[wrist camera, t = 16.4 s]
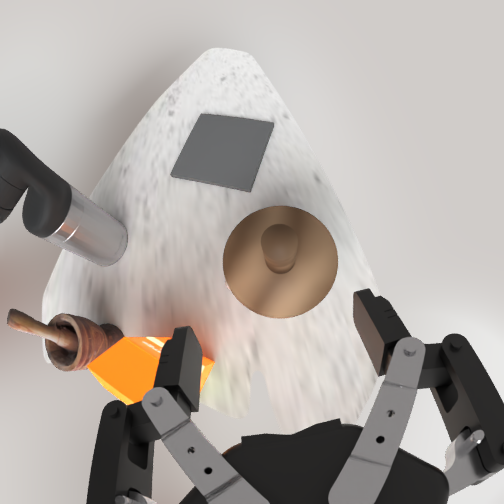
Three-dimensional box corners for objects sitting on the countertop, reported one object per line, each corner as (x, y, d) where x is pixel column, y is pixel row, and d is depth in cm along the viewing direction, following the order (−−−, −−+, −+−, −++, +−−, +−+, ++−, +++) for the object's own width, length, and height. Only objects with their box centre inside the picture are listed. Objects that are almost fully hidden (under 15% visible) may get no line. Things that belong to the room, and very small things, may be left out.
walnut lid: (210, 299, 35) (189, 290, 27) (243, 199, 38) (233, 167, 30) (320, 331, 32) (331, 331, 25) (345, 224, 36) (360, 196, 28)
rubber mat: (172, 176, 52) (170, 174, 51) (202, 116, 56) (201, 113, 55) (250, 192, 49) (249, 189, 48) (273, 125, 53) (273, 122, 52)
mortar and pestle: (80, 359, 44) (2, 360, 25) (81, 316, 47) (3, 301, 28) (127, 369, 43) (48, 381, 24) (129, 322, 45) (49, 310, 26)
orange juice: (169, 336, 44) (96, 334, 25) (215, 361, 42) (165, 381, 23) (151, 375, 42) (75, 393, 23) (196, 401, 41) (138, 441, 21)
